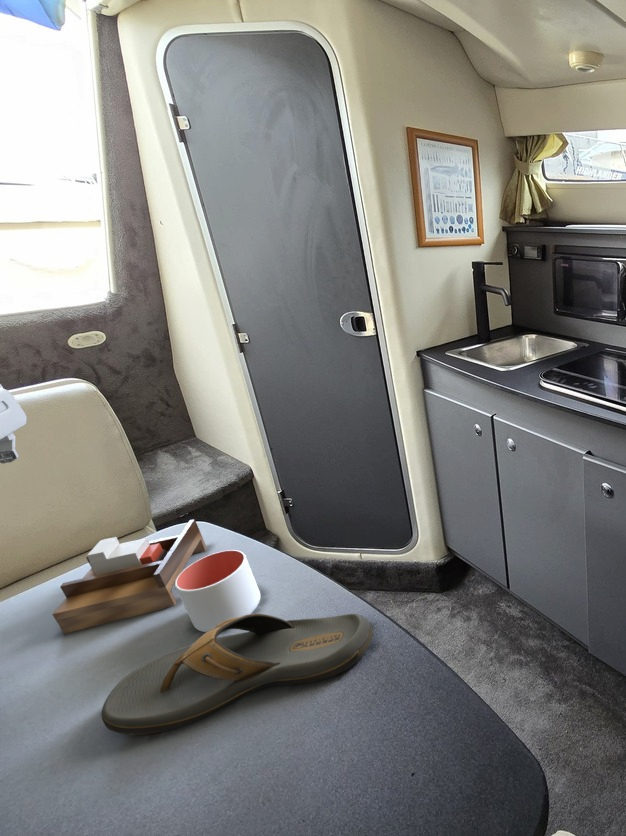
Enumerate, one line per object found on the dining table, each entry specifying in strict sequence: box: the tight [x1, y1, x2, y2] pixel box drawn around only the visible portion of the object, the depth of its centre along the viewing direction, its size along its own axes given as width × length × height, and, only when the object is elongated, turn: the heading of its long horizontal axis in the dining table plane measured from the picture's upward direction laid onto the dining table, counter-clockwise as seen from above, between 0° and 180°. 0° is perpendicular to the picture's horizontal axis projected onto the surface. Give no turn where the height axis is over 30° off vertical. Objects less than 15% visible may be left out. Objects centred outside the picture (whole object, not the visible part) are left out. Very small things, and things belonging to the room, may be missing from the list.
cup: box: [174, 549, 261, 633], centre depth 87 cm, size 10×10×10 cm
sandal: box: [101, 613, 374, 736], centre depth 75 cm, size 14×34×9 cm, turn 104°
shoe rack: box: [51, 518, 208, 634], centre depth 94 cm, size 16×17×8 cm
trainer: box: [86, 536, 167, 575], centre depth 92 cm, size 9×5×6 cm, turn 110°
